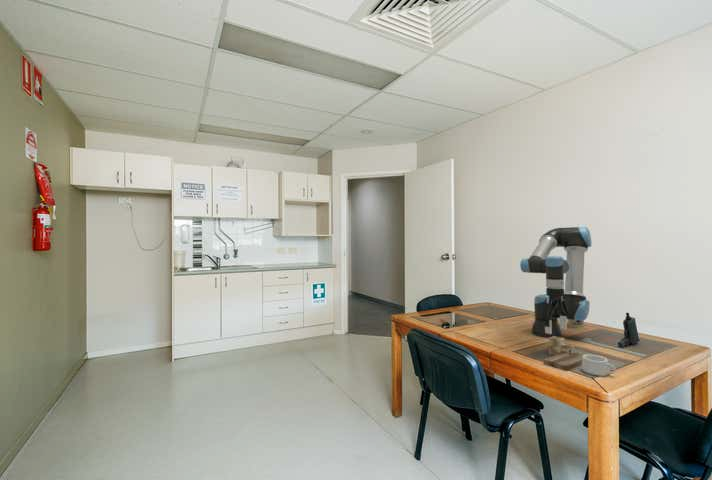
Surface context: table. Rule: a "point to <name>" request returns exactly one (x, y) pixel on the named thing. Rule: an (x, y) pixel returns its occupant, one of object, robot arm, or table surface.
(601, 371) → the mug
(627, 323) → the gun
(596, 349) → the table surface
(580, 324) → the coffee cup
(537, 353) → the table surface
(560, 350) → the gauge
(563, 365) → the board
